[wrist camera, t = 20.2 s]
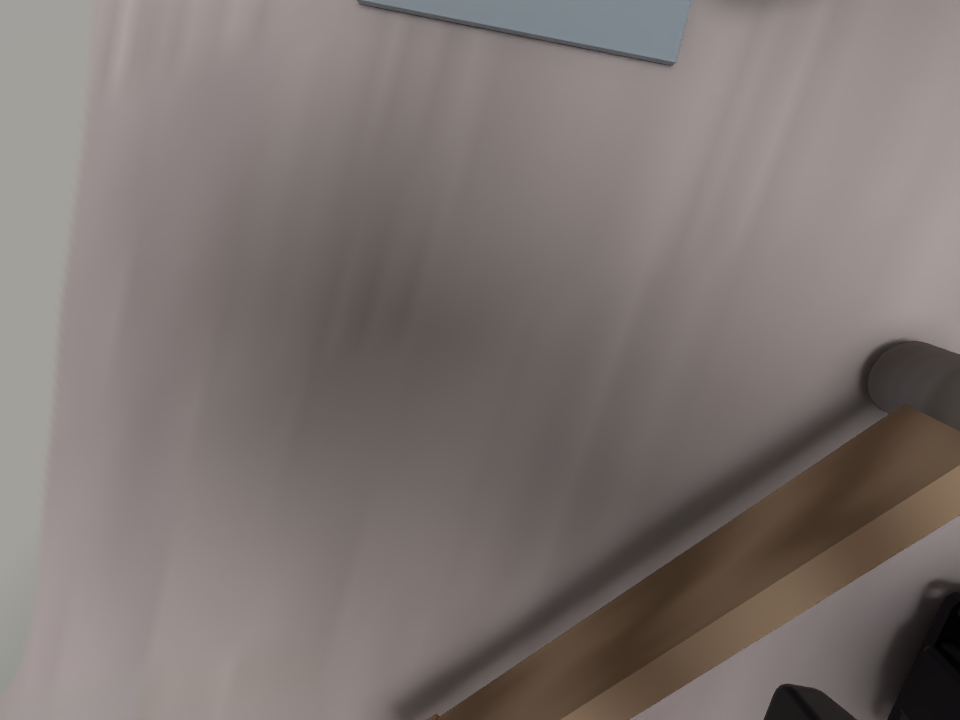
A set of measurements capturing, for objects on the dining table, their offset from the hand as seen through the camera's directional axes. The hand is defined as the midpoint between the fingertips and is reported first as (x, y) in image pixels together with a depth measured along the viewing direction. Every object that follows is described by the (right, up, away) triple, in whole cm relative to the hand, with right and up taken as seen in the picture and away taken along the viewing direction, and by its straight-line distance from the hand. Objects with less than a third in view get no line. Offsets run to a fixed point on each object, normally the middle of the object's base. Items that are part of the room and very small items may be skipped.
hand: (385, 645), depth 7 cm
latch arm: (+7, -4, +14) cm, 16 cm away
